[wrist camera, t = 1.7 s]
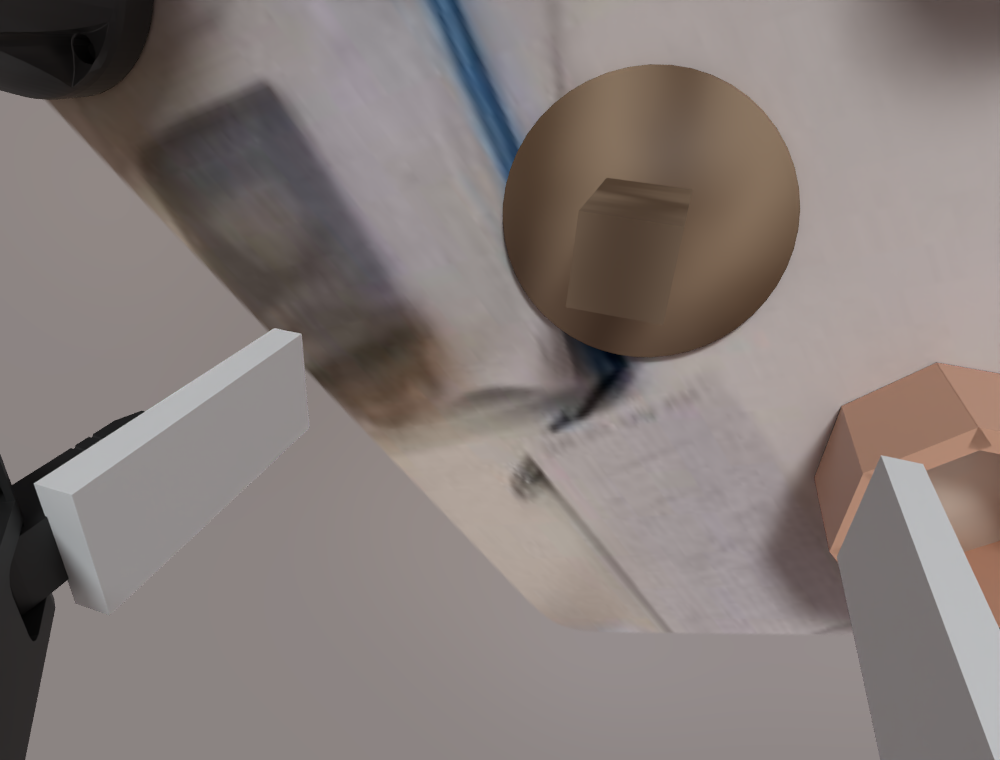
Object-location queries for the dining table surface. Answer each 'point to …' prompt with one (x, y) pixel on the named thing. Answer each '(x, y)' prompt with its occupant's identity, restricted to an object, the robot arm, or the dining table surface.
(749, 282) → the lid
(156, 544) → the robot arm
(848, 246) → the dining table surface
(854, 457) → the bowl
